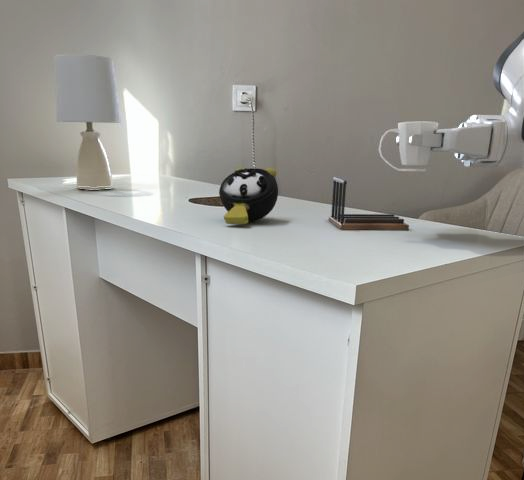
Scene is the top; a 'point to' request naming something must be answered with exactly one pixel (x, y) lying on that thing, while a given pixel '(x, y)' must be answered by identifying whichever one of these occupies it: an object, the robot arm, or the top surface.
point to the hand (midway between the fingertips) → (403, 140)
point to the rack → (360, 215)
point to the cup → (410, 152)
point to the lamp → (87, 110)
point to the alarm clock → (248, 194)
